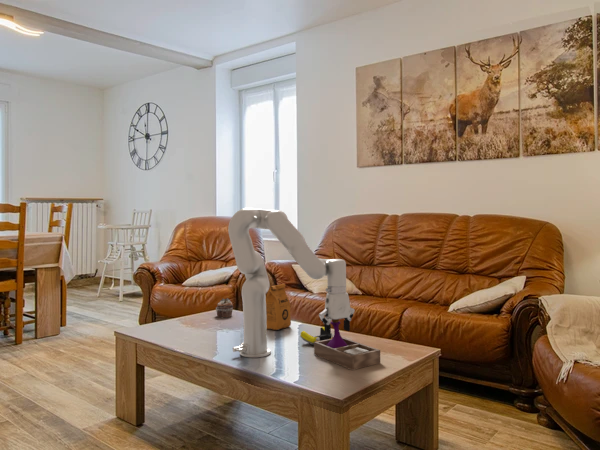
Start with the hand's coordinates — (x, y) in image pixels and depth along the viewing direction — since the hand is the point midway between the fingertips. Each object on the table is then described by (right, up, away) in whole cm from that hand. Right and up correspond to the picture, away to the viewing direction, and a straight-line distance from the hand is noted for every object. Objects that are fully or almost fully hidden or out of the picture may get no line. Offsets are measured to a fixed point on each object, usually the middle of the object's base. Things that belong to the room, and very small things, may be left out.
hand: (337, 332), depth 191 cm
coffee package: (-26, -9, +47) cm, 54 cm away
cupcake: (-58, -9, +78) cm, 97 cm away
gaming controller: (-7, -9, +20) cm, 23 cm away
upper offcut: (+6, -8, -10) cm, 14 cm away
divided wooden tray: (+3, -9, -4) cm, 11 cm away
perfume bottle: (0, -10, 0) cm, 10 cm away
